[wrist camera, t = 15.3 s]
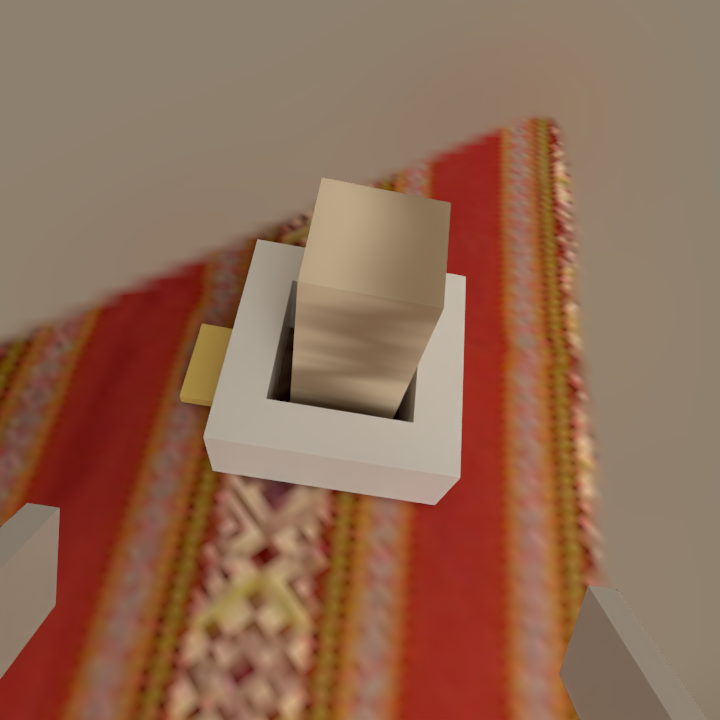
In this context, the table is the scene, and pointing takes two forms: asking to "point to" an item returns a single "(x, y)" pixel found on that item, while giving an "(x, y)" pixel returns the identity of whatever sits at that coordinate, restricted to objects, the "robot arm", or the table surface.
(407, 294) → the beech peg
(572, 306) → the table surface
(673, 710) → the robot arm
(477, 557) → the table surface
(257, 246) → the socket block
